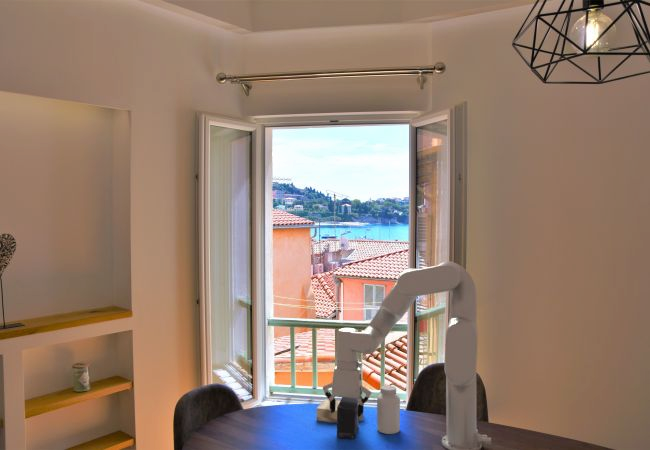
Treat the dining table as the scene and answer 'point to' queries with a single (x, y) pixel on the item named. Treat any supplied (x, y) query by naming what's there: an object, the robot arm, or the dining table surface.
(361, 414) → the slate cube
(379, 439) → the dining table surface
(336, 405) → the beech plinth
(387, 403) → the pill bottle
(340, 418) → the small box
